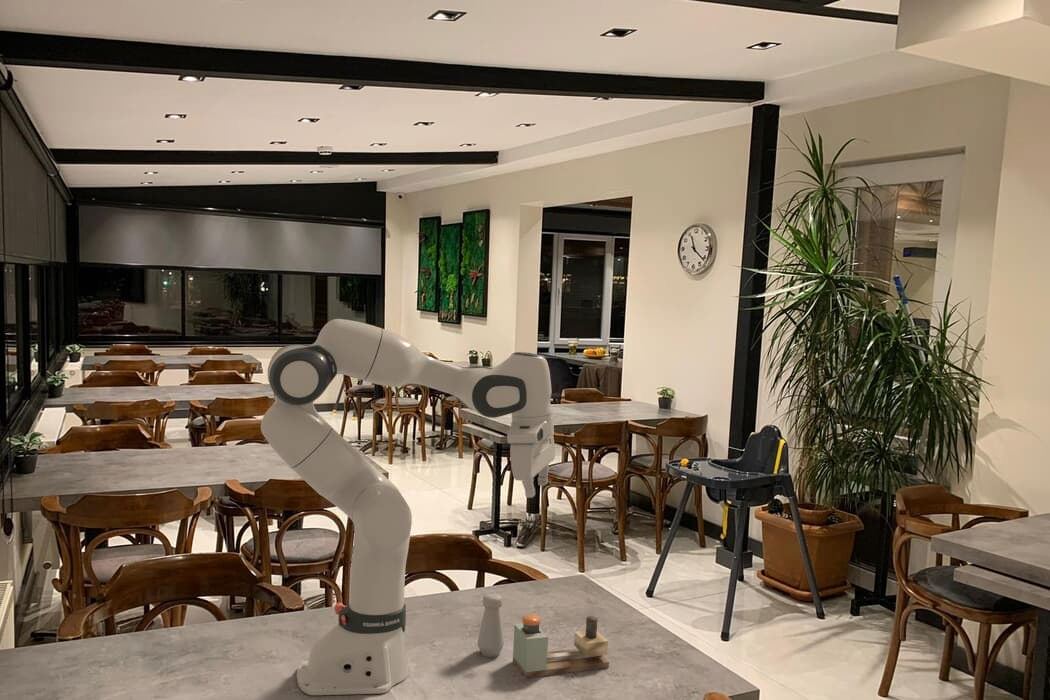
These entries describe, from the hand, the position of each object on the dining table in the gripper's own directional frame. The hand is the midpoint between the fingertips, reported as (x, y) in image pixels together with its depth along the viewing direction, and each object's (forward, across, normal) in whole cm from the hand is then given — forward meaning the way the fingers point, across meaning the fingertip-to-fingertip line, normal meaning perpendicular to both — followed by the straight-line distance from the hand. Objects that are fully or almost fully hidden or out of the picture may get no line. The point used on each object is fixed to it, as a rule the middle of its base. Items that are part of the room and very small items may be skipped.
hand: (536, 490), depth 176 cm
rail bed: (+38, +2, +4) cm, 38 cm away
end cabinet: (+36, +7, -2) cm, 36 cm away
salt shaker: (+36, +3, -12) cm, 38 cm away
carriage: (+36, -2, +9) cm, 37 cm away
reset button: (+31, +6, -1) cm, 31 cm away
